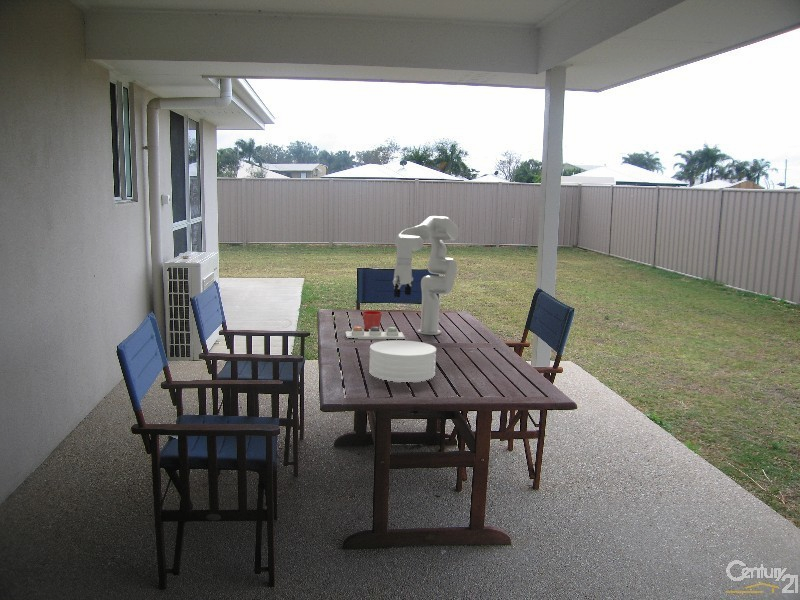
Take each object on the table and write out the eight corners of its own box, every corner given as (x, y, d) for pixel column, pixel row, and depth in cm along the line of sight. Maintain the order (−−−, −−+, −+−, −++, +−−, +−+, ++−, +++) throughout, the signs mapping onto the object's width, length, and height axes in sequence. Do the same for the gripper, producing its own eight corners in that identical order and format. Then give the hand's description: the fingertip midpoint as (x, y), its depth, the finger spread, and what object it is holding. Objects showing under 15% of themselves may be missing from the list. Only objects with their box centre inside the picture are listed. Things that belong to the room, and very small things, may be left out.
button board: (345, 334, 371) (345, 327, 370) (401, 334, 374) (401, 328, 374) (346, 339, 359) (346, 332, 358) (404, 339, 363) (404, 333, 362)
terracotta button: (353, 330, 367) (353, 326, 366) (361, 330, 367) (361, 326, 367) (353, 331, 363) (353, 328, 362) (362, 331, 363) (362, 328, 363)
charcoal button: (370, 330, 368) (370, 326, 368) (378, 330, 369) (378, 326, 368) (371, 332, 364) (371, 328, 363) (379, 332, 364) (379, 328, 364)
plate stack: (376, 363, 313) (377, 338, 311) (438, 368, 308) (439, 343, 306) (362, 379, 286) (363, 352, 284) (430, 385, 281) (431, 357, 279)
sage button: (387, 330, 369) (387, 326, 369) (395, 330, 370) (395, 326, 369) (388, 332, 365) (388, 328, 365) (396, 332, 365) (396, 328, 365)
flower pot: (358, 330, 382) (359, 312, 380) (366, 326, 392) (366, 309, 390) (377, 332, 378) (377, 314, 377) (383, 328, 389) (384, 311, 387)
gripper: (406, 259, 354) (405, 293, 357) (387, 261, 340) (386, 296, 342) (419, 261, 350) (418, 294, 353) (400, 263, 336) (399, 298, 338)
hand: (402, 295), depth 347 cm, fingers open, 9 cm apart
